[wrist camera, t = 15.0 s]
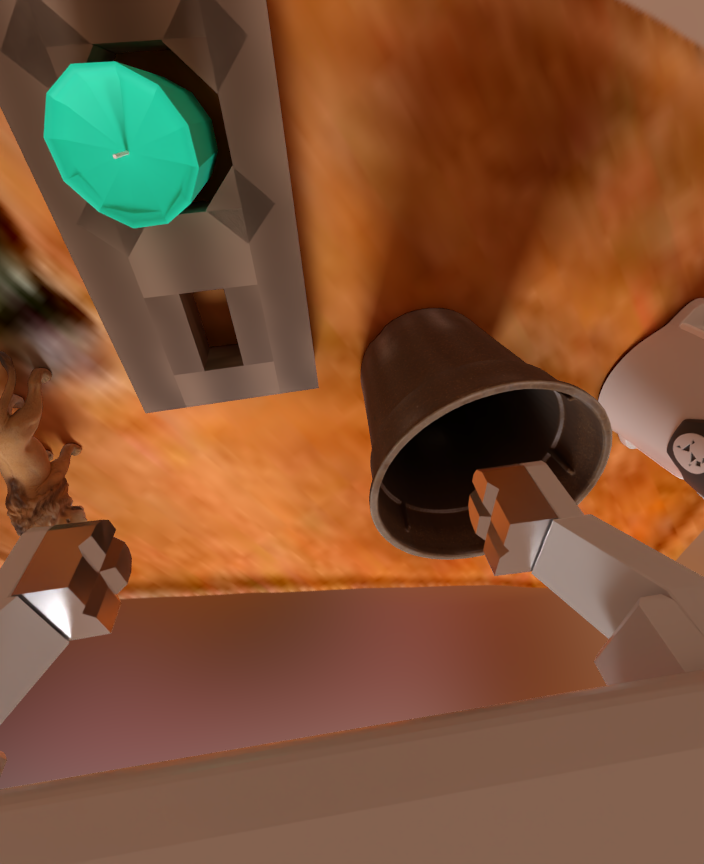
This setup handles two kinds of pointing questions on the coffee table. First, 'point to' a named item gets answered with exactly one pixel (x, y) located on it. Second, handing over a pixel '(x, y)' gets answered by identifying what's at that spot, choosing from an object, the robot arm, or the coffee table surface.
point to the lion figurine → (32, 460)
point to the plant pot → (464, 428)
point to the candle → (129, 141)
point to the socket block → (199, 222)
